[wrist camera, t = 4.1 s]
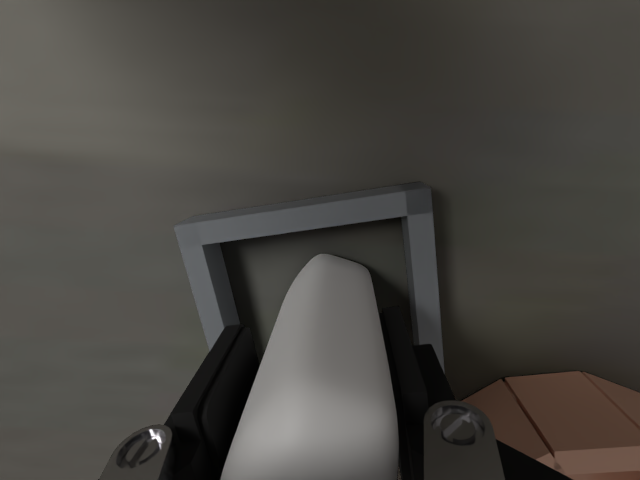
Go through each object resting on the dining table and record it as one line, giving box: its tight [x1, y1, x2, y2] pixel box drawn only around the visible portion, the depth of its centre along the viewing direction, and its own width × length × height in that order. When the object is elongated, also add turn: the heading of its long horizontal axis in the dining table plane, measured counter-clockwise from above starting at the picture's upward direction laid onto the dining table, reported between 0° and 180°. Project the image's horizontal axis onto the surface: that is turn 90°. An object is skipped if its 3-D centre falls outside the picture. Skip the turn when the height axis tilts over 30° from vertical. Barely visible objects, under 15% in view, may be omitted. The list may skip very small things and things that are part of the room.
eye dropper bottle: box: [220, 254, 399, 480], centre depth 8 cm, size 4×6×12 cm
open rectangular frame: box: [174, 182, 445, 374], centre depth 13 cm, size 10×9×2 cm
